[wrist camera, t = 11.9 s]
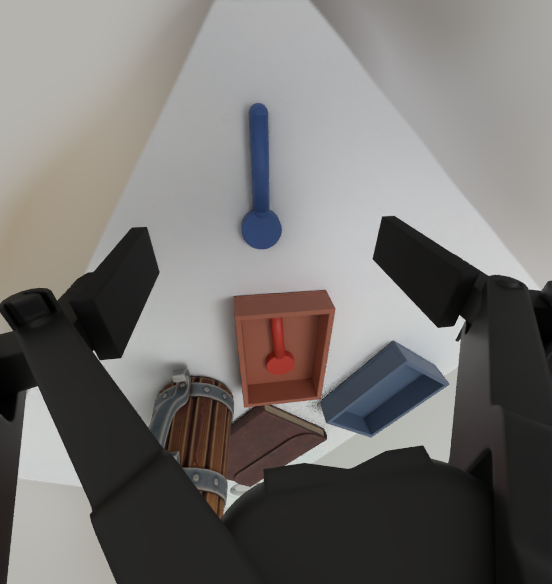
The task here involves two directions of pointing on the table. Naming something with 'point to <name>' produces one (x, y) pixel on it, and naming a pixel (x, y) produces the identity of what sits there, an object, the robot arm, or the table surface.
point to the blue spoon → (260, 185)
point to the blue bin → (382, 391)
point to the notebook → (268, 442)
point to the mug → (197, 431)
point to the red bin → (297, 340)
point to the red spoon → (279, 350)
